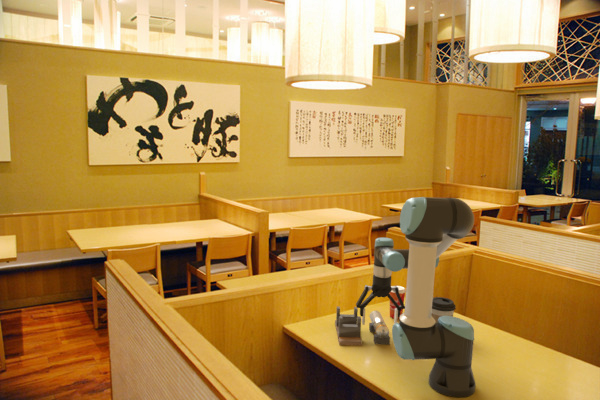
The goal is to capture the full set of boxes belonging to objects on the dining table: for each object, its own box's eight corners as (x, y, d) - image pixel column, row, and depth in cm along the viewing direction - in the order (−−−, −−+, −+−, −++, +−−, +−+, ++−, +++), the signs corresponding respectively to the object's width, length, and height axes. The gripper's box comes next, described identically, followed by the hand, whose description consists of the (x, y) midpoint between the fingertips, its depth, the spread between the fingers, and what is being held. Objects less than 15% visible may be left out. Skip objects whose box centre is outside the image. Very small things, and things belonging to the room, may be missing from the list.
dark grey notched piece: (361, 345, 192) (362, 322, 191) (339, 344, 192) (340, 322, 191) (354, 323, 214) (355, 303, 213) (334, 323, 214) (335, 303, 213)
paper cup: (384, 314, 226) (385, 286, 224) (397, 312, 230) (399, 284, 228) (394, 320, 219) (395, 291, 217) (407, 318, 223) (409, 289, 221)
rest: (389, 344, 194) (389, 337, 194) (374, 344, 194) (375, 337, 194) (382, 329, 209) (383, 323, 209) (369, 329, 209) (369, 322, 208)
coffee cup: (459, 337, 203) (462, 303, 201) (437, 341, 199) (439, 306, 196) (442, 327, 213) (444, 295, 211) (420, 330, 209) (423, 297, 207)
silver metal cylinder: (389, 338, 192) (388, 325, 191) (376, 339, 192) (375, 326, 191) (381, 321, 210) (380, 309, 209) (369, 322, 210) (369, 310, 209)
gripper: (410, 273, 202) (406, 320, 205) (351, 271, 201) (348, 319, 205) (414, 278, 194) (411, 328, 198) (353, 277, 194) (350, 326, 197)
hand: (379, 323), depth 201 cm, fingers open, 13 cm apart
